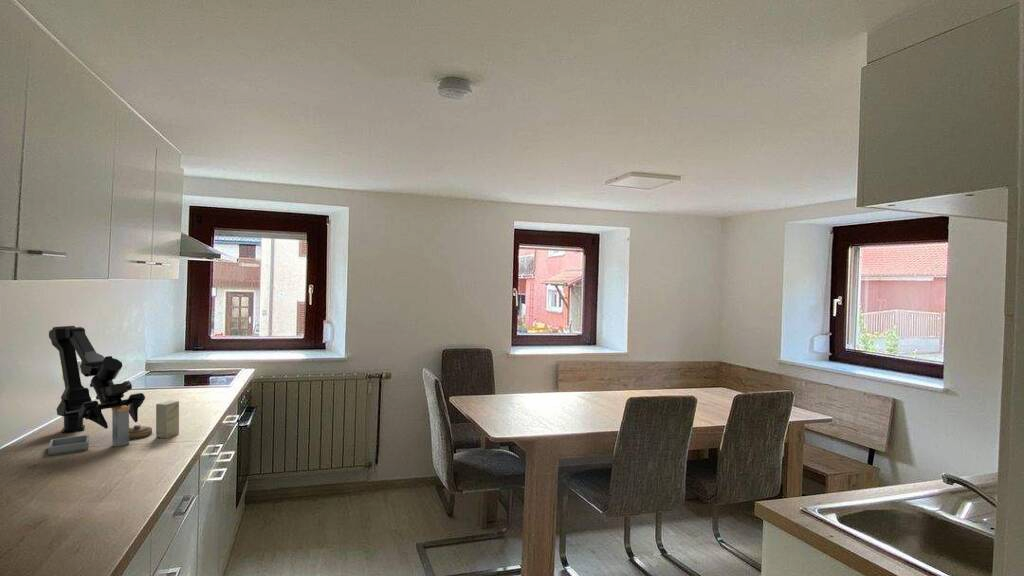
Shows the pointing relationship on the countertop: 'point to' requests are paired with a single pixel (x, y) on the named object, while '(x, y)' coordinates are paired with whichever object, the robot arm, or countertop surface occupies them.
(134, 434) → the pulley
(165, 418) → the skincare box
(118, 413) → the pin
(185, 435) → the countertop surface
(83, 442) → the tray
